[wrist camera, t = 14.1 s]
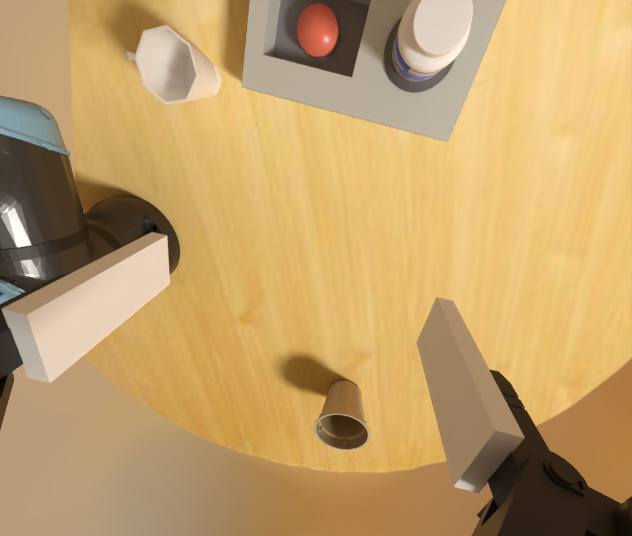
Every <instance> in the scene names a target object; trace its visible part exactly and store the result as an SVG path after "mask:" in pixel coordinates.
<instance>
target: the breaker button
mask: <svg viewBox="0 0 632 536" xmlns="http://www.w3.org/2000/svg"><path fill="white" fill-rule="evenodd" d="M297 37H298V41H299V43H300V45H301V47H302V48H303V49H304V50H305V52H306V53H307V54H308V55H310V56H311V57H313V58H324V57H327V56H328V55H330V54H331V53H332V52H333V50H334V49H335V47H336V45H337V43H338V39H339V27H338V23H337V20H336V17H335V15H334V13H333V12H332V10H331V9H330V8H329V7H328V6H326V5H324V4H320V3H316V4H312V5H310V6H308V7H307V8H306V9H305V10H304V11H303V12H302V14H301V15H300V18H299V20H298V24H297Z"/></svg>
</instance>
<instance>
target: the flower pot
mask: <svg viewBox="0 0 632 536" xmlns="http://www.w3.org/2000/svg"><path fill="white" fill-rule="evenodd" d="M314 432H315V434H316V436H317V438H318V439H319V440H320V441H321V442H322V443H324V444H325V445H327V446H329V447H331V448H334V449H337V450H344V451H348V450H356V449H359V448H361V447H363V446H364V445H366V444H367V442H368V441H369V438H370V432H369V429H368V427H367V424H366V421H365V419H364V412H363V405H362V397H361V391H360V389H359V387H357V386H355V385H354V384H353V383H352V382H349V381H337V382H335V383H334V384H333V385H331V386H330V388H329V391H328V395H327V398H326V401H325V404H324V407H323V410H322V413H321V414H320V416H319V418H318V419H317V420H316V422H315V425H314Z"/></svg>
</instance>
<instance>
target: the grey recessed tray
mask: <svg viewBox="0 0 632 536" xmlns="http://www.w3.org/2000/svg"><path fill="white" fill-rule="evenodd" d="M412 1H413V0H250V3H249V13H248V24H247V34H246V45H245V55H244V65H243V76H242V86H241V87H243V88H246V89H250V90H253V91H256V92H260V93H264V94H268V95H272V96H275V97H279V98H283V99H287V100H291V101H294V102H298V103H302V104H306V105H309V106H313V107H317V108H321V109H325V110H328V111H332V112H336V113H340V114H344V115H347V116H351V117H355V118H359V119H362V120H366V121H370V122H374V123H378V124H381V125H385V126H389V127H393V128H397V129H400V130H404V131H408V132H412V133H415V134H419V135H423V136H427V137H431V138H434V139H438V140H442V141H449V138H450V136H451V134H452V131H453V129H454V126H455V124H456V121H457V119H458V117H459V114H460V112H461V109H462V107H463V105H464V102H465V100H466V97H467V95H468V92H469V90H470V88H471V85H472V83H473V80H474V78H475V75H476V73H477V71H478V68H479V66H480V63H481V61H482V58H483V56H484V54H485V51H486V49H487V46H488V44H489V41H490V39H491V37H492V34H493V32H494V29H495V27H496V24H497V22H498V20H499V17H500V15H501V12H502V10H503V7H504V5H505V3H506V0H472V5H473V16H472V21H471V28H470V33H469V36H468V39H467V41H466V44H465V45H464V47H463V49H462V50H461V52H460V53H459V55H458V56H457V57H456V58H455V59H454V60H453V61H452V62H451V63H450V64H448V65H447V66H446V67H445V68H443V69H442V70H440V71H439V72H438V73H436V74H435V75H434V76H433V77H431V78H429V79H427V80H423V81H410V80H407V79H405V78H403V77H402V76H401V75H400V74H399V73H398V71H397V70H396V68H395V65H394V62H393V45H394V41H395V38H396V35H397V31H398V28H399V25H400V22H401V19H402V17H403V15H404V13H405V11H406V9H407V7H408V6H409V4H410V3H411V2H412ZM316 3H320V4H324V5H326V6H328V7H329V8H330V9H331V10H332V12H333V13H334V15H335V17H336V20H337V23H338V27H339V39H338V43H337V45H336V47H335V49H334V50H333V52H332V53H331V54H330V55H328V56H327V57H324V58H313V57H311V56H310V55H308V54H307V53H306V52H305V50H304V49H303V48H302V47H301V45H300V43H299V41H298V37H297V24H298V20H299V18H300V15H301V14H302V12H303V11H304V10H305V9H306V8H307V7H308V6H310V5H312V4H316Z"/></svg>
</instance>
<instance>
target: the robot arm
mask: <svg viewBox="0 0 632 536" xmlns="http://www.w3.org/2000/svg"><path fill="white" fill-rule="evenodd" d="M69 156H70V153H69V151H67V150H66V147H65V145H64V142H63V139H62V136H61V133H60V130H59V127H58V124H57V122H56V120H55V118H54V117H53V116H52V114H51V113H49V111H47V110H46V109H45V108H43V107H41V106H40V105H37V104H35V103H32V102H28V101H23V100H19V99H14V98H9V97H4V96H0V429H1V425H2V422H3V418H4V414H5V411H6V407H7V404H8V400H9V397H10V393H11V389H12V386H13V382H14V376H13V373H12V371H14V370H15V369H16V368H18V367H19V366H21V365H22V364H23V366H24V369H25V372H26V374H27V377H28V378H32V379H36V380H40V381H43V382H48V383H50V382H52V381H53V380H54V379H56V378H57V377H58V376H59V375H60V374H61V373H63V372H64V371H65V370H66V369H68V368H69V367H70V366H71V365H72V364H74V363H75V362H76V361H77V360H78V359H80V358H81V357H82V356H83V355H85V354H86V353H87V352H88V351H89V350H91V349H92V348H93V347H94V346H95V345H97V344H98V343H99V342H100V341H101V340H103V339H104V338H105V337H106V336H108V335H109V334H110V333H111V332H112V331H114V330H115V329H116V328H117V327H118V326H120V325H121V324H122V323H123V322H124V321H126V320H127V319H128V318H129V317H131V316H132V315H133V314H134V313H135V312H137V311H138V310H139V309H140V308H141V307H143V306H144V305H145V304H146V303H147V302H149V301H150V300H151V299H152V298H153V297H155V296H156V295H157V294H158V293H160V292H161V291H162V290H163V289H164V288H166V287H167V286H168V285H169V284H170V276H169V275H170V274H171V273H172V272H173V271H174V270H175V269H176V267H177V265H178V262H179V258H180V247H179V242H178V238H177V236H176V233H175V231H174V229H173V227H172V226H171V224H170V223H169V221H168V220H167V219H166V217H165V216H164V215H163V214H162V213H161V212H160V211H159V210H158V209H156V208H155V207H154V206H152V205H151V204H149V203H148V202H146V201H144V200H142V199H139V198H136V197H132V196H116V197H112V198H109V199H105V200H102V201H100V202H98V203H97V204H95V205H94V206H93V207H92V208H91V209H90V210H89V211H88V212H87V213H85V214H84V213H83V209H82V206H81V202H80V199H79V195H78V191H77V187H76V183H75V180H74V176H73V172H72V168H71V164H70V160H69ZM417 345H418V349H419V353H420V357H421V361H422V365H423V369H424V373H425V377H426V380H427V384H428V388H429V392H430V396H431V400H432V404H433V408H434V412H435V416H436V420H437V423H438V427H439V431H440V435H441V439H442V443H443V447H444V451H445V455H446V459H447V463H448V466H449V470H450V474H451V478H452V482H453V486H454V487H457V488H461V489H465V490H469V491H473V492H476V493H479V492H480V491H481V490H482V489H483V487H484V486H485V485H486V484H487V483H489V486H490V489H491V492H492V495H493V498H492V499H491V500H490V501H489V502H488V503H487V504H486V506H485V507H484V508H483V509H482V510H481V511H480V512H479V513H478V515H477V516H478V517H479V518H480V520H479V523H478V524H477V527H476V528H475V530H474V532H473V535H472V536H632V497H630V498H629V499H627V500H626V501H625V502H624V503H622V504H621V503H619V502H617V501H615V500H613V499H611V498H609V497H607V496H605V495H603V494H601V493H599V492H598V491H596V490H594V489H592V488H590V487H588V485H587V484H586V481H585V480H584V478H583V477H582V476H581V475H580V473H579V472H578V471H577V470H576V469H575V468H574V467H573V466H572V465H571V464H570V463H568V462H567V461H566V460H565V459H563V458H562V457H560V456H559V455H557V454H555V453H553V452H551V451H549V449H548V447H547V445H546V443H545V442H544V440H543V438H542V437H541V435H540V433H539V431H538V430H537V428H536V426H535V424H534V423H533V421H532V419H531V418H530V416H529V414H528V412H527V411H526V410H525V407H524V405H523V404H522V402H521V400H519V399H518V395H517V393H516V392H515V390H514V388H513V386H512V385H511V384H510V382H509V381H508V380H507V379H506V378H505V377H504V376H503V375H502V374H501V373H500V372H498V371H494V370H489V368H488V366H487V365H486V363H485V361H484V359H483V357H482V355H481V353H480V351H479V349H478V347H477V345H476V344H475V342H474V340H473V338H472V336H471V334H470V332H469V330H468V328H467V326H466V324H465V323H464V321H463V319H462V317H461V315H460V313H459V311H458V309H457V307H456V305H455V303H454V302H453V301H451V300H447V299H443V298H438V297H437V298H436V300H435V302H434V304H433V307H432V309H431V311H430V313H429V316H428V318H427V320H426V322H425V325H424V327H423V329H422V331H421V334H420V336H419V338H418V340H417Z"/></svg>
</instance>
